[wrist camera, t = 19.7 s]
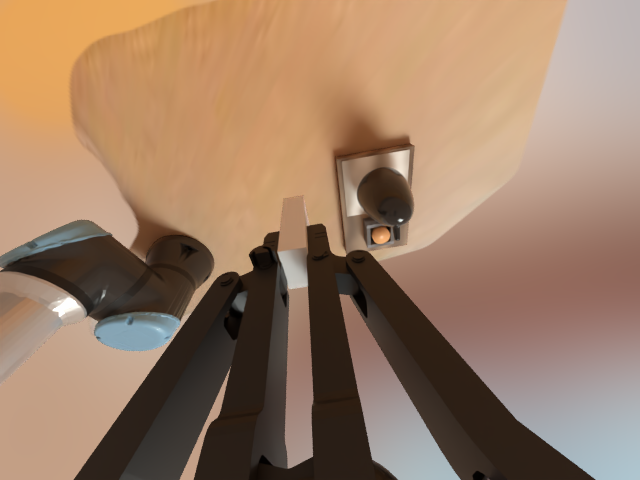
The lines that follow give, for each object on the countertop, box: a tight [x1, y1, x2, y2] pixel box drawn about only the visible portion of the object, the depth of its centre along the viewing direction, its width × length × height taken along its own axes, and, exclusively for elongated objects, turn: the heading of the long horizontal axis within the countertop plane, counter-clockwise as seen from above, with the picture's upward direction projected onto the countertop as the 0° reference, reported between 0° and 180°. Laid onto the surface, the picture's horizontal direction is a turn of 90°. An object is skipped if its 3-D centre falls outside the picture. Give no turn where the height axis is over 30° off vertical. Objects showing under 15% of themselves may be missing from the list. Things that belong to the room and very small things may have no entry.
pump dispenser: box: [357, 167, 414, 241], centre depth 45 cm, size 10×10×15 cm
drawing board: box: [335, 144, 414, 254], centre depth 54 cm, size 16×25×6 cm, turn 9°
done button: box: [370, 226, 390, 244], centre depth 56 cm, size 4×4×3 cm
